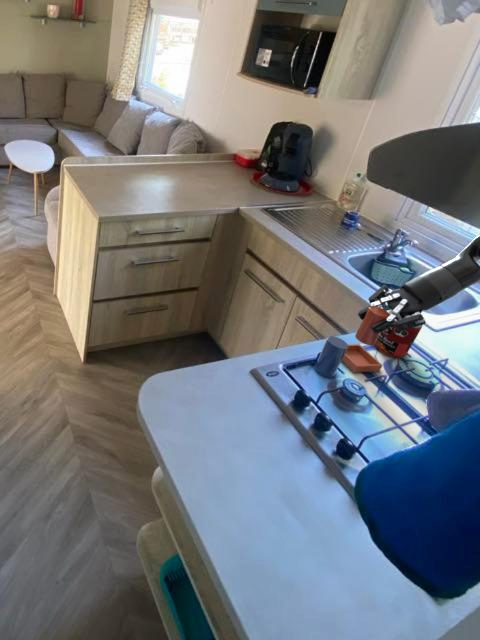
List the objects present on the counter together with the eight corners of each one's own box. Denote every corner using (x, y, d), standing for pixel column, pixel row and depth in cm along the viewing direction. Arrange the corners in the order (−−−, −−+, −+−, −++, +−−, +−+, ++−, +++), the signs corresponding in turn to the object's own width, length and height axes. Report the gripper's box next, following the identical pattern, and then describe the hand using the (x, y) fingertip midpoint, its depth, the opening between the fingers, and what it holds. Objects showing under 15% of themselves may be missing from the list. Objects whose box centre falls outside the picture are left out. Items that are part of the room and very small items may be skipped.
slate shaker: (338, 377, 104) (352, 348, 100) (322, 377, 103) (336, 349, 99) (326, 363, 108) (339, 335, 104) (310, 364, 107) (323, 336, 103)
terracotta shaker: (379, 345, 107) (394, 316, 103) (364, 345, 106) (379, 316, 102) (365, 333, 111) (379, 305, 108) (351, 333, 110) (364, 305, 106)
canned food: (367, 339, 121) (383, 307, 117) (392, 340, 122) (408, 309, 118) (385, 357, 114) (403, 325, 110) (412, 359, 115) (430, 327, 111)
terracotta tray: (379, 371, 108) (382, 365, 108) (353, 372, 107) (356, 366, 106) (356, 349, 115) (359, 344, 115) (332, 350, 114) (334, 344, 113)
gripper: (405, 262, 108) (343, 297, 111) (451, 294, 95) (379, 332, 99) (415, 282, 111) (354, 315, 114) (460, 315, 98) (390, 352, 101)
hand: (366, 323), depth 106 cm, fingers closed on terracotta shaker, 4 cm apart
